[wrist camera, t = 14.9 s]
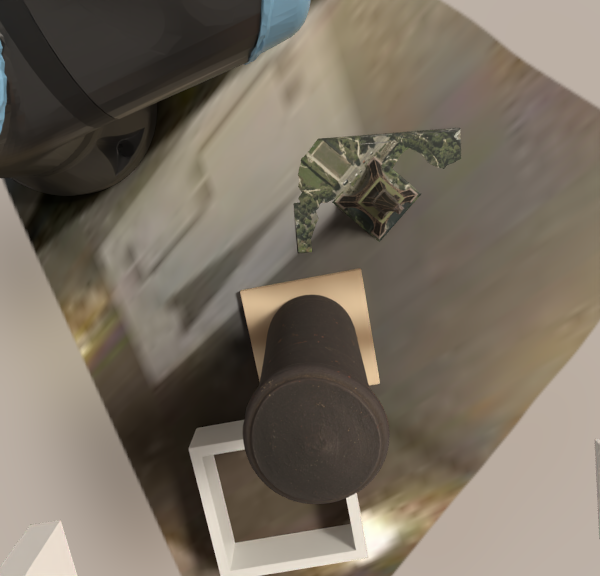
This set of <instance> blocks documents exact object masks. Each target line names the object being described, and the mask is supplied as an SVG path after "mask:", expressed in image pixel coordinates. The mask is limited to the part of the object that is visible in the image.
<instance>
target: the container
mask: <svg viewBox="0 0 600 576" xmlns="http://www.w3.org/2000/svg"><path fill="white" fill-rule="evenodd" d="M357 339H358V337H357V335H356V331H355V327H354V325H353V322H352V320H351V318H350V316H349V315H348V313H347V312H346V310H345V309H344V308H343V307H342V306H341V305H340V304H338V303H337V302H335V301H334V300H332V299H330V298H327V297H325V296H321V295H303V296H299V297H296V298H293V299H291V300H290V301H288V302H286V303H285V304H284V305H283V306H282V307H281V308H280V309H279V310H278V311H277V312H276V313H275V315H274V317H273V318H272V320H271V323H270V326H269V329H268V333H267V339H266V347H265V354H264V361H263V366H262V372H261V377H260V383H259V386H258V388H257V389H256V390H255V392H254V393H253V395H252V397H251V398H250V400H249V403H248V405H247V408H246V412H245V420H244V424H243V442H244V447H245V451H246V454H247V457H248V460H249V462H250V464H251V466H252V468H253V470H254V471H255V472H256V474H257V475H258V477H259V478H260V479H261V480H262V481H263V482H264V483H265V484H266V485H267V486H268V487H269V488H270V489H272V490H273V491H274V492H276V493H278V494H279V495H281V496H284V497H286V498H288V499H290V500H293V501H297V502H301V503H307V504H325V503H332V502H336V501H340V500H342V499H345V498H348V497H350V496H352V495H354V494H355V493H357V492H359V491H360V490H362V489H363V488H364V487H365V486H367V485H368V484H369V483H370V482H371V481H372V480H373V479H374V477H375V476H376V475H377V473H378V472H379V470H380V469H381V467H382V465H383V463H384V461H385V458H386V455H387V451H388V446H389V425H388V420H387V416H386V413H385V411H384V409H383V407H382V405H381V403H380V401H379V400H378V398H377V397H376V395H375V394H374V393H373V391H372V390H371V389H370V388H369V384H368V381H367V376H366V372H365V368H364V364H363V360H362V356H361V352H360V348H359V344H358V340H357Z"/></svg>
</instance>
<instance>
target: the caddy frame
mask: <svg viewBox="0 0 600 576" xmlns="http://www.w3.org/2000/svg"><path fill="white" fill-rule="evenodd" d="M243 424H244V420H240V421H234V422H228V423H222V424H217V425H211V426H205V427H200V428H196V431H195V433H194V436H193V438H192V441H191V443H190V446H189V453H190V457H191V461H192V465H193V469H194V472H195V476H196V480H197V484H198V488H199V492H200V496H201V500H202V504H203V508H204V512H205V516H206V520H207V524H208V528H209V532H210V536H211V540H212V544H213V548H214V552H215V556H216V559H217V563H218V567H219V571H220V575H221V576H260V575H266V574H273V573H279V572H285V571H291V570H297V569H303V568H309V567H316V566H322V565H328V564H334V563H340V562H346V561H352V560H359V559H365V558H368V553H367V547H366V541H365V535H364V530H363V524H362V519H361V513H360V508H359V503H358V497H357V493H355V494H354V495H352V496H350V497H348V498H346V500H347V505H348V511H349V516H350V521H351V524H347V525H341V526H334V527H328V528H322V529H316V530H310V531H304V532H298V533H292V534H286V535H280V536H274V537H268V538H262V539H256V540H250V541H244V542H238V543H235V541H234V537H233V532H232V528H231V524H230V520H229V516H228V512H227V508H226V504H225V500H224V495H223V491H222V487H221V483H220V479H219V475H218V471H217V467H216V462H215V458H214V455H215V454H221V453H227V452H233V451H238V450H244V449H245V447H244V442H243Z"/></svg>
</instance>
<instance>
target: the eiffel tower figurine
mask: <svg viewBox="0 0 600 576" xmlns="http://www.w3.org/2000/svg"><path fill="white" fill-rule="evenodd" d="M408 148H411V149H413V150H415V151H417V152H419V153H421V154H422V155H423V156H424V158H425V159H426V160H427V161H428V162H429V163H430V164H431V165H433V166H437V167H440V168H443V169H444V168H445V167H446V166H447V165H449V164H452V163H454V162H456V161H457V160H460V159H461V142H460V128H452V129H440V130H426V131H412V132H400V133H389V134H377V135H364V136H350V137H337V138H322V139H318V140H317V141H316V142H315V144H314V145H313V146H312V148H311V149H310V150H309V152H308V153H307V154H306V155H305V156H304V157H303V158H302V159H301V165H300V168H299V173H298V176H299V179H300V182H299V186H298V187H299V188H300V190H301V191H302V194H301V195H300V196H299V200H300V203H294V212H295V222H296V232H297V242H298V253H303V252H312V247H311V240H310V239H311V237H312V234H313V231H314V228H315V225H316V223H317V221H318V216H317V213H316V210H317V209H318V208H319V205H320V203H327V202H329V201H331V200H333V199H335V198H336V199H335V200H334V201H333V202H332V203H334V204H335V205H336V206H337V207H338V208H340V209H341V210H342V211H343V212H344V213H345V214H347V215H348V216H349V217H350V218H351V219H353V220H354V221H355V222H356V223H357V224H358V225H360V226H361V227H362V228H363V229H364V230H366V231H367V232H368V233H369V234H370V235H371V236H373V237H374V238H375V239H376V240H377V241H379V242H380V241H381V240H382V238H383V237H384V236H385V235H386V234H387V233H388V232H389V230H390V229H391V228H392V227H393V226H394V225H395V224H396V222H397V221H398V220H399V219H400V218H401V217H402V215H403V214H404V213H405V212H406V211H407V210H408V209H409V207H410V206H411V205H412V204H413V203H414V202H415V201H416V199H417V198H418V197H419V196H420V195H421V193H419V192H418V191H417V190H416V189H415V188H414V187H413V186H411V185H410V184H409V183H408V182H407V181H406V180H405V179H403V178H402V177H401V176H400V175H399V174H398V173H397V172H395V171H394V170H393V169H392V168H393V166H394V165H395V163H396V161H397V160H398V158H399V156H400V155H401V154H402V153H403V152H404V151H405V150H407V149H408Z"/></svg>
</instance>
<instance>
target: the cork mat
mask: <svg viewBox="0 0 600 576" xmlns="http://www.w3.org/2000/svg"><path fill="white" fill-rule="evenodd" d="M240 293H241V298H242V303H243V307H244V312H245V317H246V321H247V326H248V330H249V335H250V340H251V344H252V349H253V353H254V358H255V363H256V367H257V372H258V377H259V381H260V377H261V372H262V366H263V361H264V354H265V347H266V339H267V333H268V329H269V326H270V323H271V320H272V318H273V317H274V315H275V313H276V312H277V311H278V310H279V309H280V308H281V307H282V306H283V305H284V304H285V303H286V302H288V301H290V300H291V299H293V298H296V297H299V296H303V295H321V296H325V297H327V298H330V299H332V300H334V301H335V302H337V303H338V304H340V305H341V306H342V307H343V308H344V309H345V310H346V312H347V313H348V315H349V316H350V318H351V320H352V322H353V325H354V327H355V331H356V335H357V337H358V339H357V340H358V344H359V348H360V352H361V356H362V360H363V364H364V368H365V372H366V376H367V381H368V384H369V385H374V384H380V380H379V374H378V369H377V363H376V357H375V351H374V345H373V339H372V333H371V327H370V321H369V315H368V309H367V303H366V297H365V291H364V285H363V279H362V273H361V269H360V268H359V269H354V270H348V271H343V272H338V273H332V274H327V275H321V276H316V277H310V278H305V279H300V280H294V281H289V282H283V283H278V284H272V285H267V286H262V287H256V288H251V289H245V290H241V291H240Z"/></svg>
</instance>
